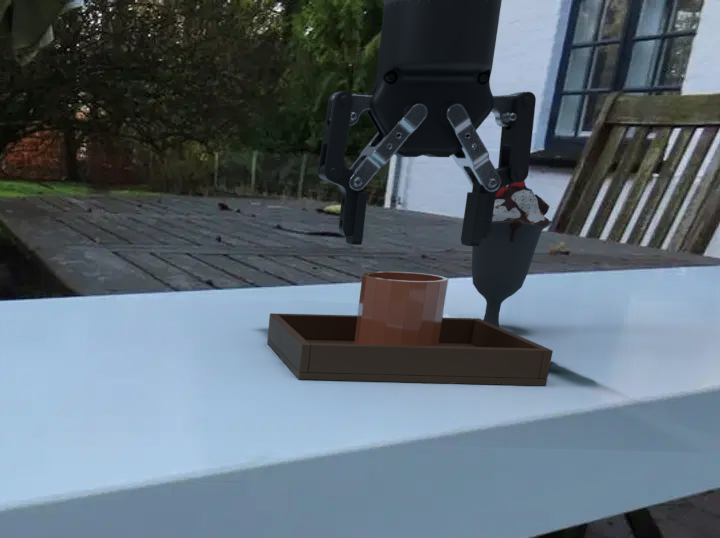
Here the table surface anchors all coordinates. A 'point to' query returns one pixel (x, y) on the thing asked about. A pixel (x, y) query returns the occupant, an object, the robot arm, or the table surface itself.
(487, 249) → the sundae
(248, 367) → the table surface
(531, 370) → the tray
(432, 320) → the terracotta flower pot
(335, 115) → the robot arm
